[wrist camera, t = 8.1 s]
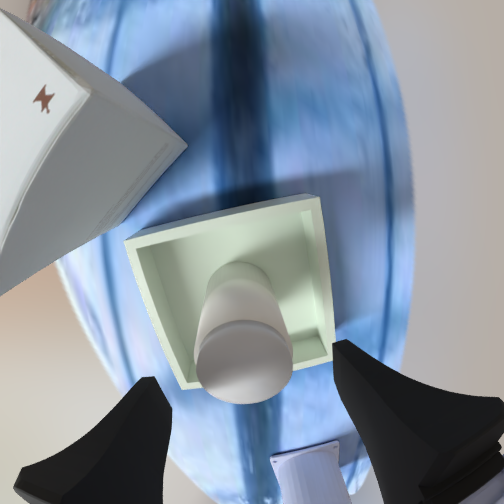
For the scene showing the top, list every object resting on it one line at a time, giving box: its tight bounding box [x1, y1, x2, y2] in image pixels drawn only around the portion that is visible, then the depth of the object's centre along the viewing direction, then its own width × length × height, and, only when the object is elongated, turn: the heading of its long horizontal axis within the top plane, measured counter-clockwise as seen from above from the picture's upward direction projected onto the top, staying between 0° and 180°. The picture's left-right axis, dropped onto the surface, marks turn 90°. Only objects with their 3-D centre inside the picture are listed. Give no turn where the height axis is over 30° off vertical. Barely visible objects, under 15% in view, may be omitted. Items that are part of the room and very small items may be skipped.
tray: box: [124, 193, 336, 390], centre depth 17 cm, size 11×11×3 cm
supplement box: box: [0, 9, 188, 296], centre depth 10 cm, size 7×7×13 cm
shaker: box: [194, 262, 293, 404], centre depth 14 cm, size 4×4×8 cm
